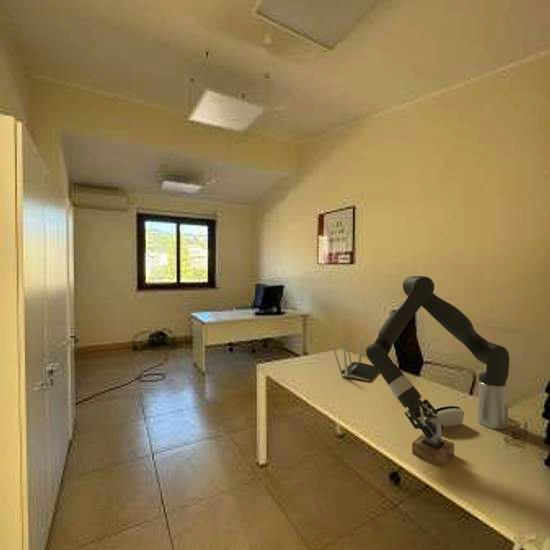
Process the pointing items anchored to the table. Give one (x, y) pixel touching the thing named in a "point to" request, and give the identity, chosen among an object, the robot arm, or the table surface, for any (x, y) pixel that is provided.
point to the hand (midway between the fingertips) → (436, 433)
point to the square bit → (433, 432)
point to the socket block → (433, 451)
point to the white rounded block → (449, 415)
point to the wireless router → (356, 365)
